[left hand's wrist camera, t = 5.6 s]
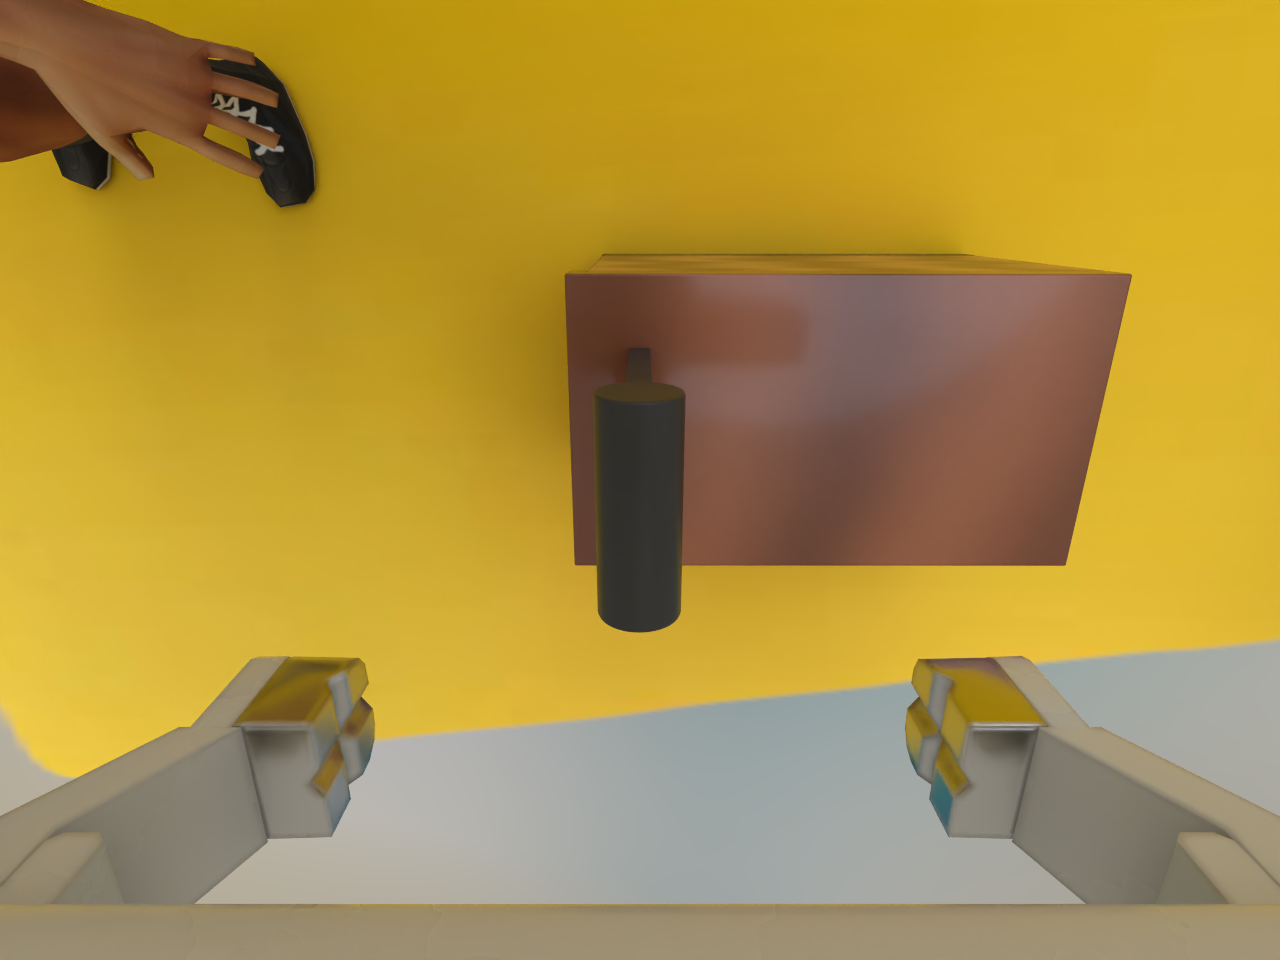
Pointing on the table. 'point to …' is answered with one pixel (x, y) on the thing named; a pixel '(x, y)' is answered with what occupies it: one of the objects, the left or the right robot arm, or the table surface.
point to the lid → (828, 420)
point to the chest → (816, 263)
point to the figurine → (139, 97)
